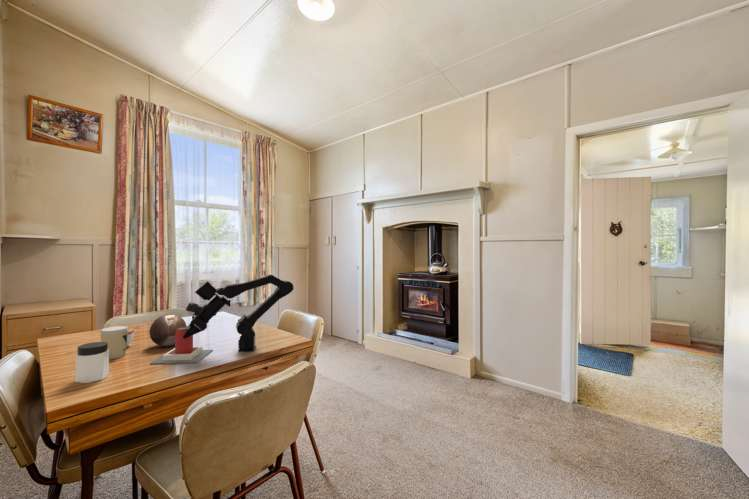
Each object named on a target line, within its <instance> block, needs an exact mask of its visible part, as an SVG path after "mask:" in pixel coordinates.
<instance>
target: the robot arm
mask: <svg viewBox="0 0 749 499" xmlns="http://www.w3.org/2000/svg"><path fill="white" fill-rule="evenodd" d="M270 284H272V285H274V286H275V287H276V288H275V289H274V291H273V293H272V294H270V296H268V297H267V298H266V299H265V300H264V301H263V302H262V303H261V304H260V305H259V306H258V307H257V308H255V310H253V311H252V313H249V314H248V315H246V314H245V313H244V314H243V315H242V317H240V318H239V319H237V323H236V325H235V328H236V331H237V333H238V335H240V336H239V339H238V346H237V347H238V352H253V351H255V349H256V348H257V345H256V332H255V329H254V326H255V324H256V323H257V321H258V320H259V319H260V318H261V317H262V316H264V315H265V313H267V311H269V310H270V309H271V307H272V306H274V305H275V304H276V303H277V302H278V301H279V300H281V299H282V298H285V297H286V296H288V295H290V294H291V293H292V292H293V290H294V284H293V283H292V282H291V281H289V280H282V279H280V278H278V277H276V276H275V275H273V274H267V275H265V276H261V277H258V278H255V279H251V280H248V281H244V282H241V283H239V282H238V283H230V284H226V285H225V286H224V287H220V288H219V287H218V288H216V287H214V286H213V284H212V283H211V282H209V281H205V283H203V284H202V285H201V286H200V287H198V288H197V289H196V291H194V293H195V294H196V295H197V296H198V297H200V298H201V299H202V300H203V301H209V302H207V304H203V306H202V305H200V304H198V303H195V302H192V301H189V303H188V304H187V306H186V308H185V310H186V311H187V312H191V313H193V314H192V315H191V321H190V323H189V324H188V326H190V328H189V329H188V330H187V332H186V333H185V334H184V336H183V338H184V339H185V338H187V337H190V336H192V335H193V336H195V335H196V334H199V333H201V332H203V331H205V330H206V329H207V328H208V324H209V322H210V320H211V319H212V318H214V317H215V316H216V315H217V313H219V311H221V309H223V308H224V307H225V306H228V307H231V302H232V300H231V299H234V298H235V297H237V296H239V295H241V294H243V293H245V292H246V291H250V290H253V289H256V288H257V289H258V288H260V287H263V286H266V285H270Z"/></svg>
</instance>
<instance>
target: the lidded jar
mask: <svg viewBox="0 0 749 499" xmlns="http://www.w3.org/2000/svg"><path fill="white" fill-rule="evenodd" d="M127 328H128V327H127ZM134 334H135V329H134V328H128V332H127V344H126V348H128V346H129V345H131V343H132V342H133V339H134Z"/></svg>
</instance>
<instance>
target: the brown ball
mask: <svg viewBox="0 0 749 499" xmlns="http://www.w3.org/2000/svg"><path fill="white" fill-rule="evenodd" d="M184 326H187V323H186V321H185V320H184V318H183V317H181V316H180V315H177V314H173V313H171V314H170V313H169V314H164V315H161V316H159V317H157V318H156V319H154V321H153V322H152V324H151V325H150V328H149V337H150V339H151V341H152V343H154V344H156V345H158V346H161V347H172V346H175V333H176V330H177V328H179V327H184Z"/></svg>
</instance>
